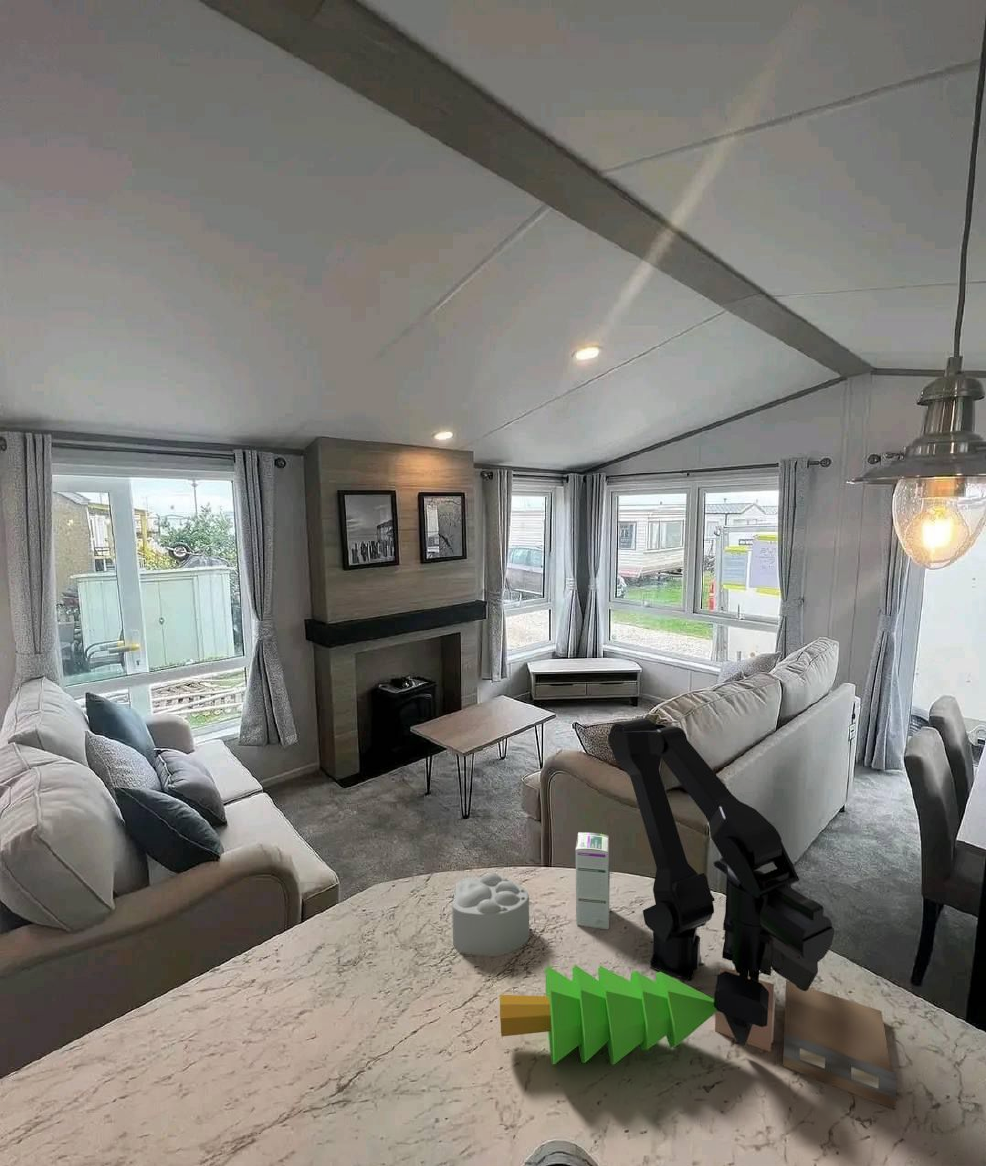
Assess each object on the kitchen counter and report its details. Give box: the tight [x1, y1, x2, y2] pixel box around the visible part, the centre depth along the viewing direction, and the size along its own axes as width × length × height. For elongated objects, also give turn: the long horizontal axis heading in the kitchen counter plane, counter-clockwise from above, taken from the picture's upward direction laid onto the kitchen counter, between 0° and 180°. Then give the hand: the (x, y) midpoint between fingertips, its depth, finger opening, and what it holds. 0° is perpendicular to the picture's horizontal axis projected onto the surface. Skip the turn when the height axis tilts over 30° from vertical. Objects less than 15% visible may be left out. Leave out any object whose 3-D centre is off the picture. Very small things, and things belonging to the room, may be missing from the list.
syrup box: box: [575, 831, 611, 930], centre depth 102 cm, size 6×6×14 cm
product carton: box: [714, 966, 776, 1053], centre depth 80 cm, size 7×5×6 cm
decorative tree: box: [499, 964, 717, 1065], centre depth 76 cm, size 11×12×30 cm
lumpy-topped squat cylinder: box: [451, 871, 530, 956], centre depth 99 cm, size 10×13×9 cm
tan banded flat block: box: [782, 979, 898, 1110], centre depth 77 cm, size 12×14×4 cm
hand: (744, 1016), depth 80 cm, fingers open, 9 cm apart
